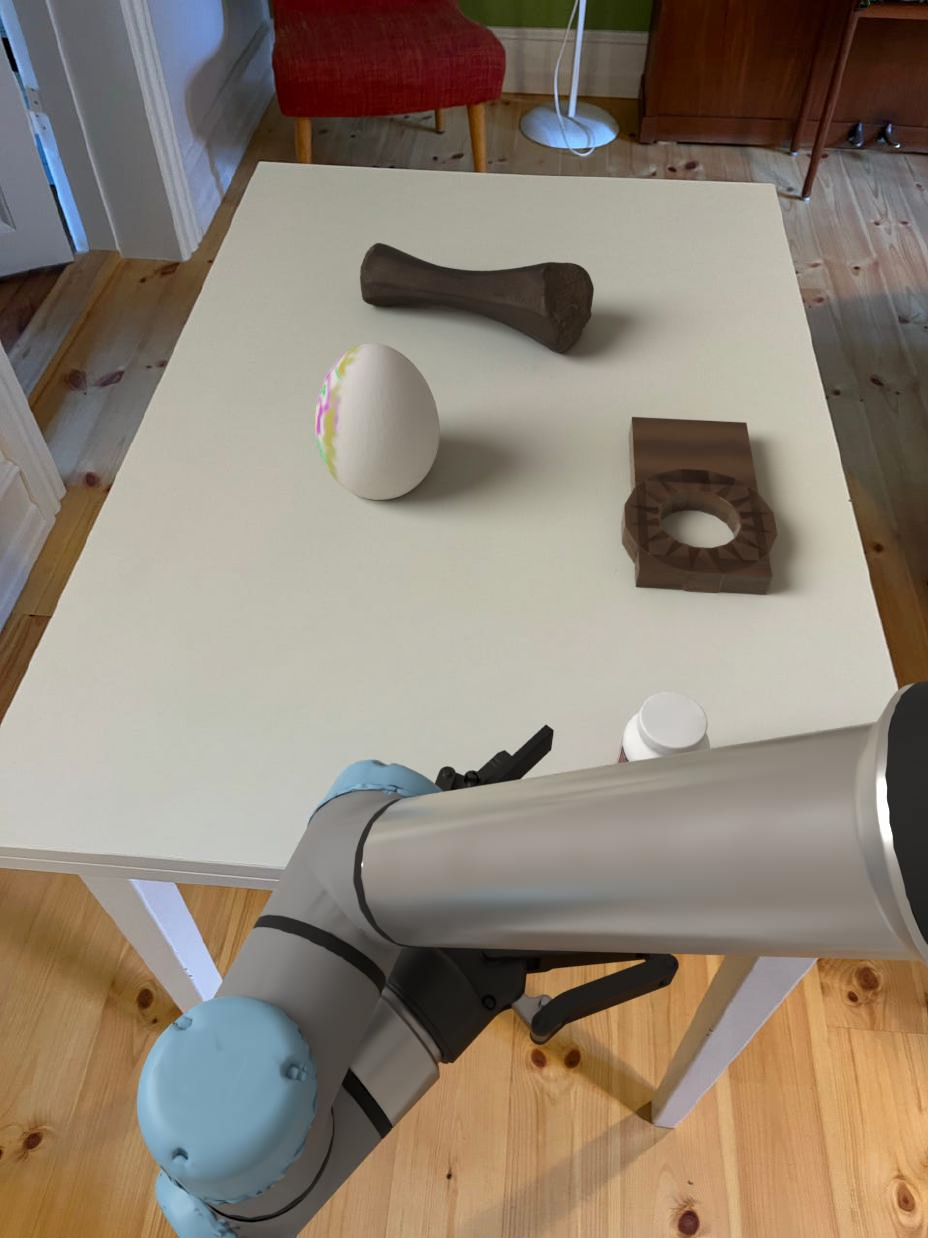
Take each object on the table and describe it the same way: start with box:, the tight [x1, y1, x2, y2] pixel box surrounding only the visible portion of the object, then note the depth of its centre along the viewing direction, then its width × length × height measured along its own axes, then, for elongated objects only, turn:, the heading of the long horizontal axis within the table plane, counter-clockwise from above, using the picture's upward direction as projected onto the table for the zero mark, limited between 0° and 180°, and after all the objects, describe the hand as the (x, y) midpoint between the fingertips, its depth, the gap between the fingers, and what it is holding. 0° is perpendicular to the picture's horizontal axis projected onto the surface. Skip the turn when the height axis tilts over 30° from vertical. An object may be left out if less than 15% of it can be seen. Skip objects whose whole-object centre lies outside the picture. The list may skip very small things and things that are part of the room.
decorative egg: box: [314, 342, 441, 501], centre depth 91 cm, size 12×12×15 cm
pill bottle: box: [615, 691, 711, 764], centre depth 68 cm, size 6×6×11 cm
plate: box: [620, 416, 778, 596], centre depth 92 cm, size 22×14×2 cm, turn 175°
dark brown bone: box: [359, 242, 595, 353], centre depth 111 cm, size 11×10×28 cm
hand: (622, 794), depth 65 cm, fingers open, 13 cm apart
